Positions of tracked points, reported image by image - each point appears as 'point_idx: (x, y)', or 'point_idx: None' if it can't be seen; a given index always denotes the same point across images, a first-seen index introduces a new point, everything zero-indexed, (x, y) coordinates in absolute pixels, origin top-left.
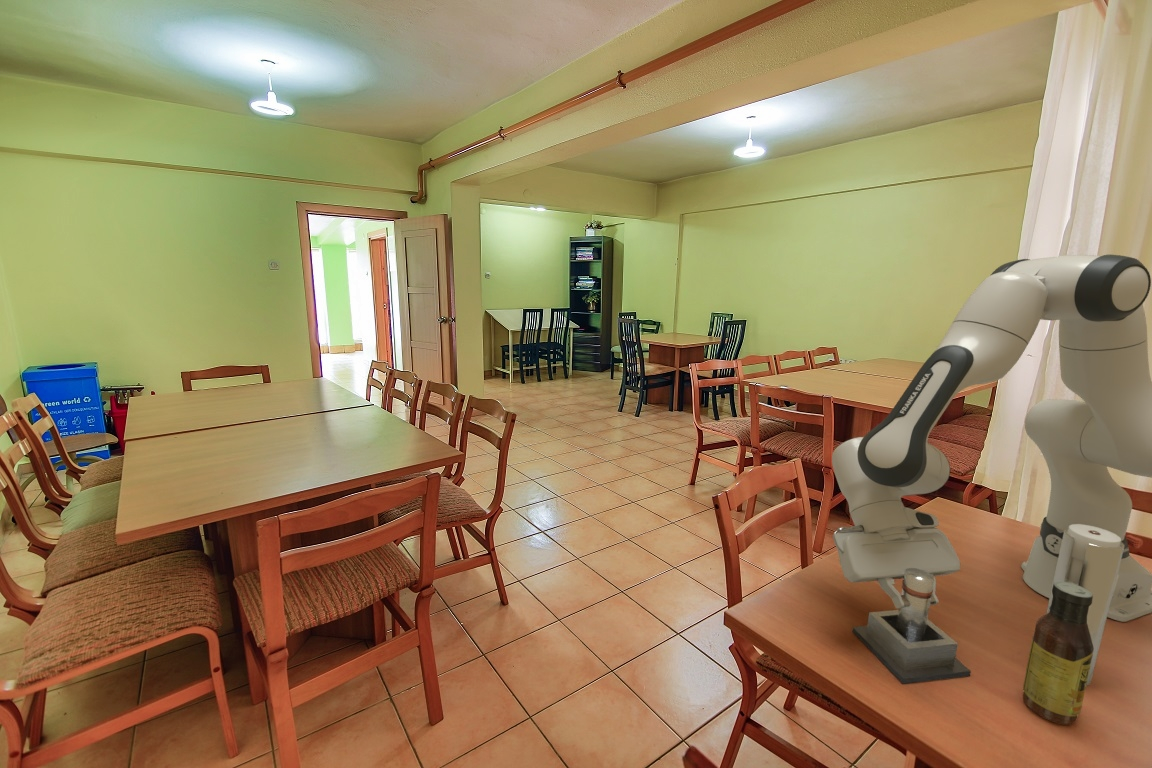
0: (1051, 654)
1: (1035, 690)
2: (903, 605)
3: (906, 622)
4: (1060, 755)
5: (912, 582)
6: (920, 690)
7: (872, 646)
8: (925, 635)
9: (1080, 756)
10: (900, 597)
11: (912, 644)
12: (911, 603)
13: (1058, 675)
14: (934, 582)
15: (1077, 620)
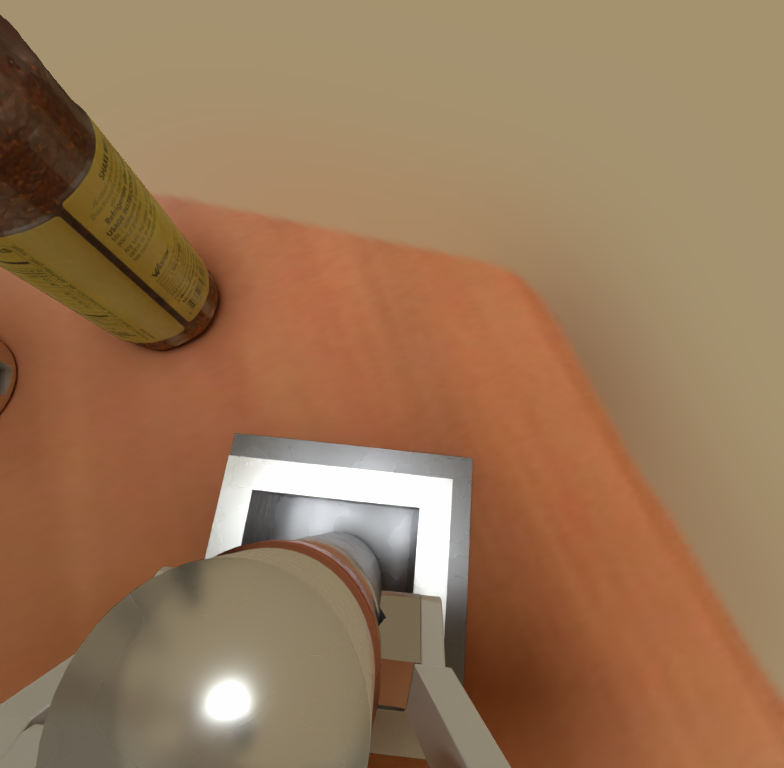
0: (98, 142)
1: (192, 273)
2: (427, 596)
3: (377, 580)
4: (291, 226)
5: (365, 658)
6: (435, 430)
7: (465, 617)
8: None
9: (254, 216)
10: (428, 647)
11: (413, 496)
12: (369, 591)
13: (138, 179)
14: (22, 702)
15: None
